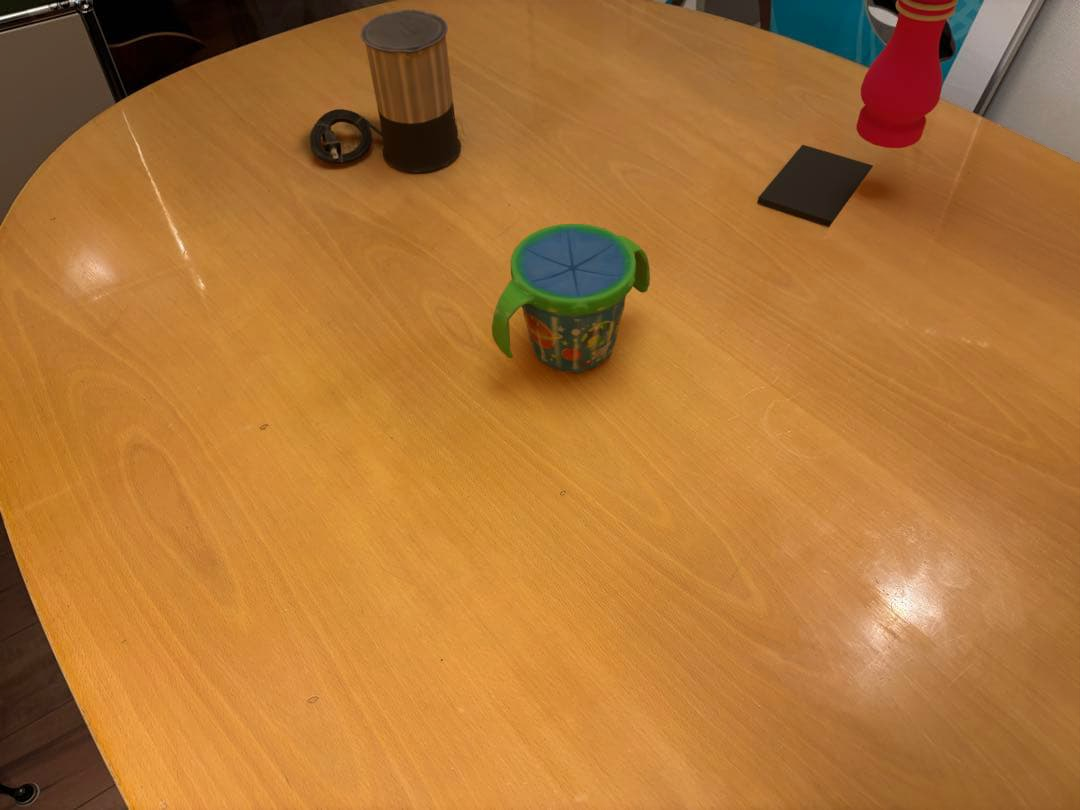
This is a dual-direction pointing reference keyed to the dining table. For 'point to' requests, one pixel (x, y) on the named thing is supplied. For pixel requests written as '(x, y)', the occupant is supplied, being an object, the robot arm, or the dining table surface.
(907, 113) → the pepper mill
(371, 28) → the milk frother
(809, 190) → the mat
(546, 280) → the snack cup
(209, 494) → the dining table surface
